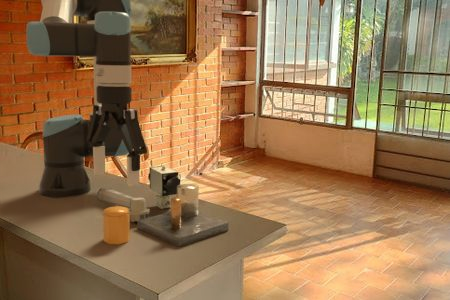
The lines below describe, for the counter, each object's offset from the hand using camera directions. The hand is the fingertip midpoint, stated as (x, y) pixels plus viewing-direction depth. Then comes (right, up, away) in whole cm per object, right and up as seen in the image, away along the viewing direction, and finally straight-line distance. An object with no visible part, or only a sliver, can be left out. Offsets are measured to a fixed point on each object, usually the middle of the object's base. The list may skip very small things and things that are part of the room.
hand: (115, 179), depth 112 cm
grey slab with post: (+14, -13, +11) cm, 22 cm away
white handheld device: (-4, -11, +24) cm, 26 cm away
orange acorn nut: (0, -14, +3) cm, 15 cm away
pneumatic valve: (+8, -10, +28) cm, 31 cm away
